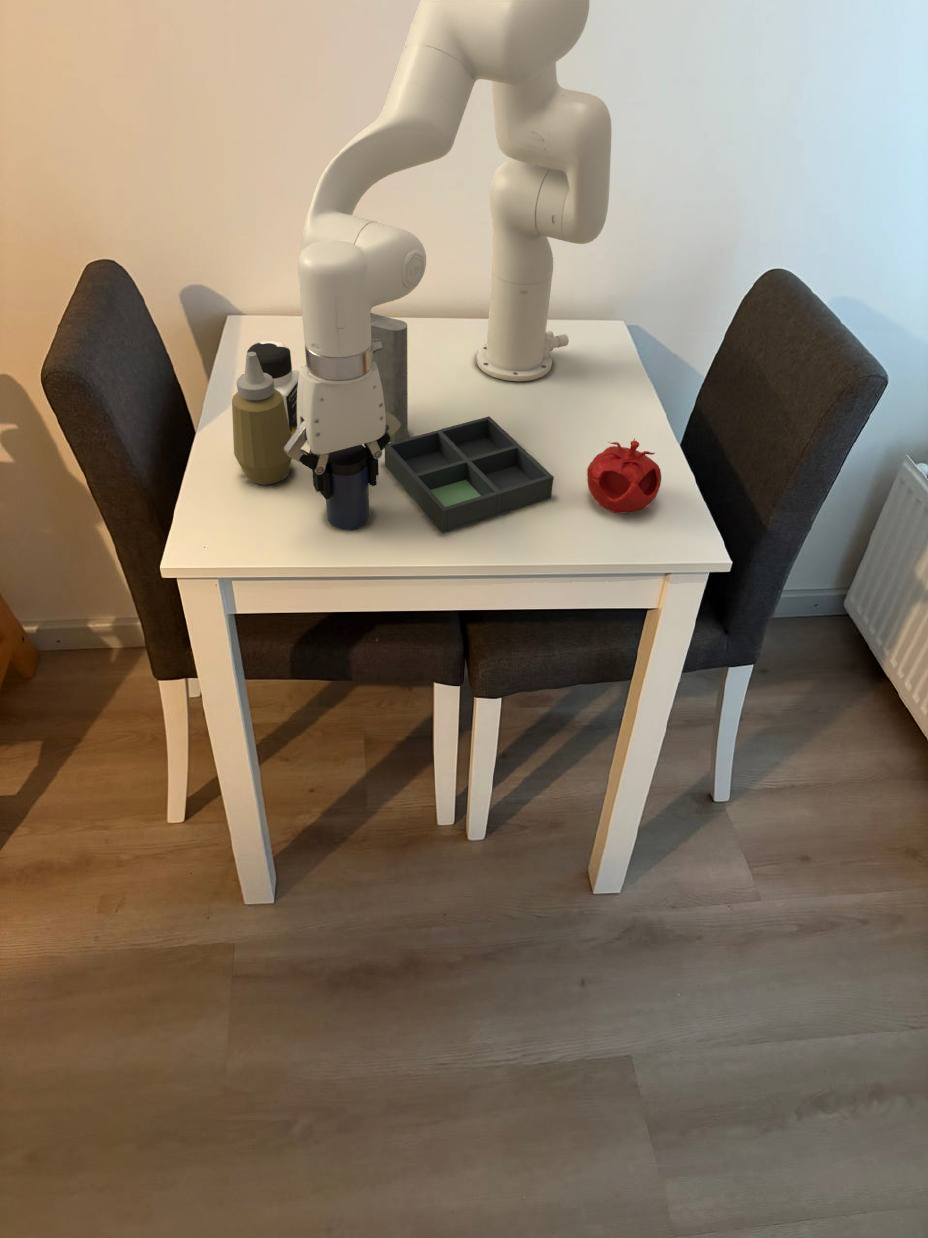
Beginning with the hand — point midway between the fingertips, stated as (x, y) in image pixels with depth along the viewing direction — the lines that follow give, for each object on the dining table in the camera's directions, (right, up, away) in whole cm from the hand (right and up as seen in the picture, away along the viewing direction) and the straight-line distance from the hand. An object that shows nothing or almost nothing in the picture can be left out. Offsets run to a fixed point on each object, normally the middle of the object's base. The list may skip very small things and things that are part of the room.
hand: (346, 485), depth 114 cm
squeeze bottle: (-12, +3, +10) cm, 16 cm away
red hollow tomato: (+37, -1, +9) cm, 38 cm away
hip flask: (0, +12, +20) cm, 23 cm away
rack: (+15, +2, +10) cm, 19 cm away
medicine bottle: (-13, +12, +19) cm, 27 cm away
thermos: (0, -4, +3) cm, 5 cm away
